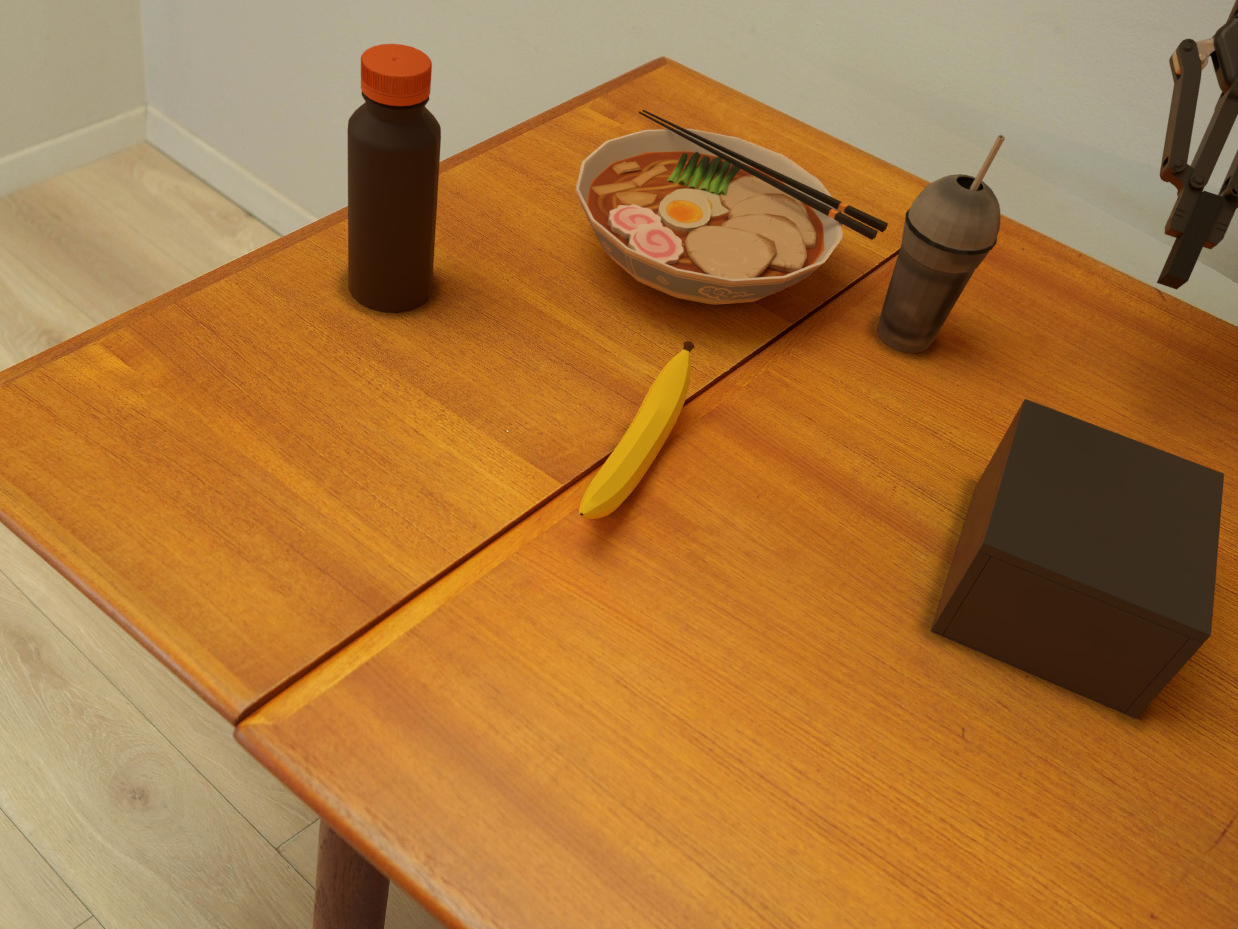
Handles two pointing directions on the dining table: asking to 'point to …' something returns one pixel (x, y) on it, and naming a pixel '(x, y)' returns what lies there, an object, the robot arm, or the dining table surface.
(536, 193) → the dining table surface
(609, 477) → the banana
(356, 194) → the bottle
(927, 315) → the beverage cup
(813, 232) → the ramen bowl
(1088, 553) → the cabinet
